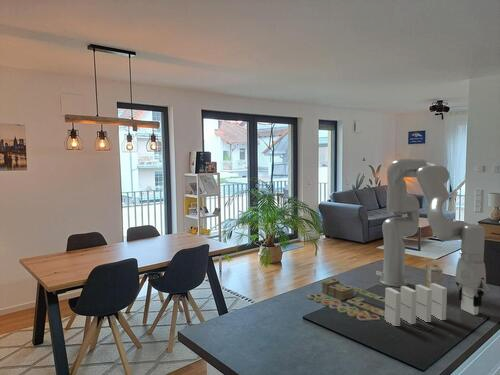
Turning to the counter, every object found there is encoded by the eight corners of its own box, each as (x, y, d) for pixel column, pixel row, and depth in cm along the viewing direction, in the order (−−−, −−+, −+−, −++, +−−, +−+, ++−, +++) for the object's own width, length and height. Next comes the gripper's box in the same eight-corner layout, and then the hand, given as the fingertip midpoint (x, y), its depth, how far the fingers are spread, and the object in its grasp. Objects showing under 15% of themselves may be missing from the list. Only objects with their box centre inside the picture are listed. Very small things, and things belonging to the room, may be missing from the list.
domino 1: (395, 327, 129) (396, 293, 128) (384, 320, 135) (385, 287, 134) (400, 326, 130) (401, 292, 129) (389, 319, 135) (390, 287, 135)
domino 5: (473, 315, 139) (475, 283, 139) (460, 308, 145) (462, 279, 144) (478, 314, 140) (479, 283, 139) (465, 308, 146) (466, 278, 145)
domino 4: (441, 321, 134) (442, 288, 133) (429, 314, 140) (430, 283, 139) (445, 320, 135) (447, 288, 134) (433, 314, 141) (434, 283, 140)
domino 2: (410, 325, 131) (411, 291, 130) (399, 318, 137) (400, 286, 136) (415, 324, 131) (416, 291, 131) (404, 317, 137) (405, 286, 136)
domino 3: (426, 323, 132) (427, 290, 132) (414, 316, 138) (415, 285, 138) (431, 322, 133) (432, 289, 132) (419, 315, 139) (420, 284, 138)
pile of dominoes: (302, 297, 159) (302, 285, 158) (345, 286, 174) (345, 274, 174) (369, 327, 130) (370, 312, 130) (413, 310, 145) (414, 296, 145)
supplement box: (442, 300, 155) (443, 269, 154) (429, 299, 156) (430, 269, 155) (436, 293, 163) (437, 264, 162) (424, 293, 164) (425, 264, 163)
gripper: (446, 252, 148) (444, 296, 150) (483, 263, 132) (481, 312, 133) (461, 251, 150) (459, 294, 152) (500, 262, 134) (497, 310, 135)
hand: (469, 302), depth 142 cm, fingers closed on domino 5, 5 cm apart
